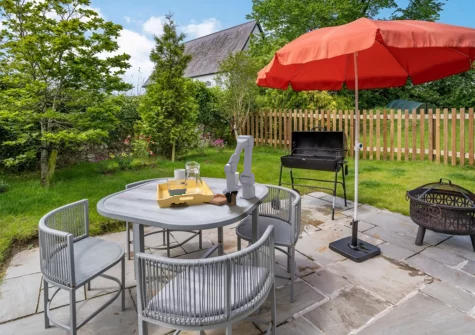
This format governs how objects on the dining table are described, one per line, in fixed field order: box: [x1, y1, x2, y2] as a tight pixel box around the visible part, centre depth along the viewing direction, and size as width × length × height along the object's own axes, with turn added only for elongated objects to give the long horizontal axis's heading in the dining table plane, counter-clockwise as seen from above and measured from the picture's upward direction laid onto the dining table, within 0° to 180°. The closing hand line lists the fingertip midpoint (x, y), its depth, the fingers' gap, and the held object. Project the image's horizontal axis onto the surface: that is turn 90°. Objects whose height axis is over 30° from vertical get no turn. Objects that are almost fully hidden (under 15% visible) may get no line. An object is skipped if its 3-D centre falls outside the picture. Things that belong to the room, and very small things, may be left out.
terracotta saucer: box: [208, 193, 227, 206], centre depth 206 cm, size 15×15×2 cm
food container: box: [167, 187, 187, 197], centre depth 202 cm, size 12×6×10 cm, turn 101°
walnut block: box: [226, 194, 237, 207], centre depth 196 cm, size 4×5×7 cm
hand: (231, 202), depth 196 cm, fingers closed on walnut block, 4 cm apart
